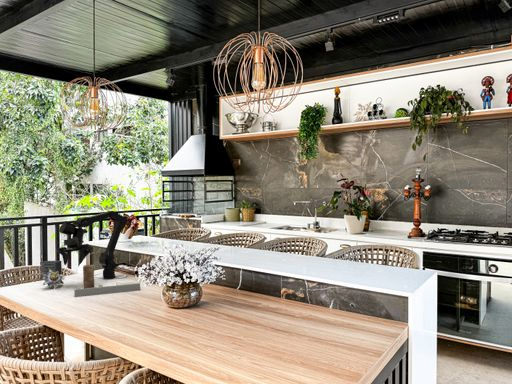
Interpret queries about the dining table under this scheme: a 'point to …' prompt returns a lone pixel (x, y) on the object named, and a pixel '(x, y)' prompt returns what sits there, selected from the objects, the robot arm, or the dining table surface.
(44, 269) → the small box
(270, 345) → the dining table surface
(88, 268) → the walnut block
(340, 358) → the dining table surface
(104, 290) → the tray
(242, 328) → the dining table surface
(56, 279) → the passion flower
